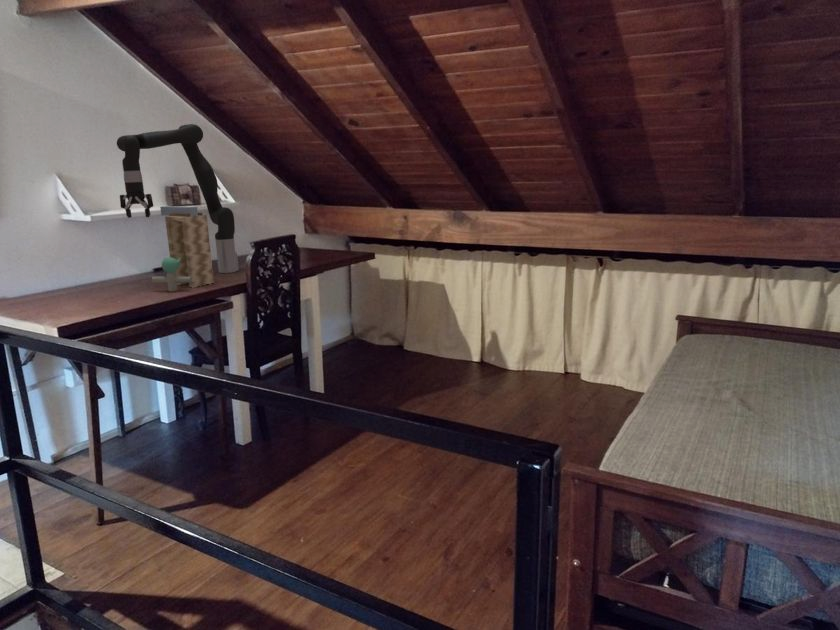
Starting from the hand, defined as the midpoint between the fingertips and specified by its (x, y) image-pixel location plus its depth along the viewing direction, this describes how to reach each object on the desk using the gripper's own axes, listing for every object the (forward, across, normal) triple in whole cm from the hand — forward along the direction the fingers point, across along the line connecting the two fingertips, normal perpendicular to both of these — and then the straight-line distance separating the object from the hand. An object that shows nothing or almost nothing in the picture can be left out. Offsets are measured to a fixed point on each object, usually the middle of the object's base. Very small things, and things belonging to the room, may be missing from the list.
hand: (138, 217), depth 285 cm
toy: (+32, -18, +13) cm, 39 cm away
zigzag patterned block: (+32, -22, -1) cm, 39 cm away
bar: (0, -18, -4) cm, 18 cm away
